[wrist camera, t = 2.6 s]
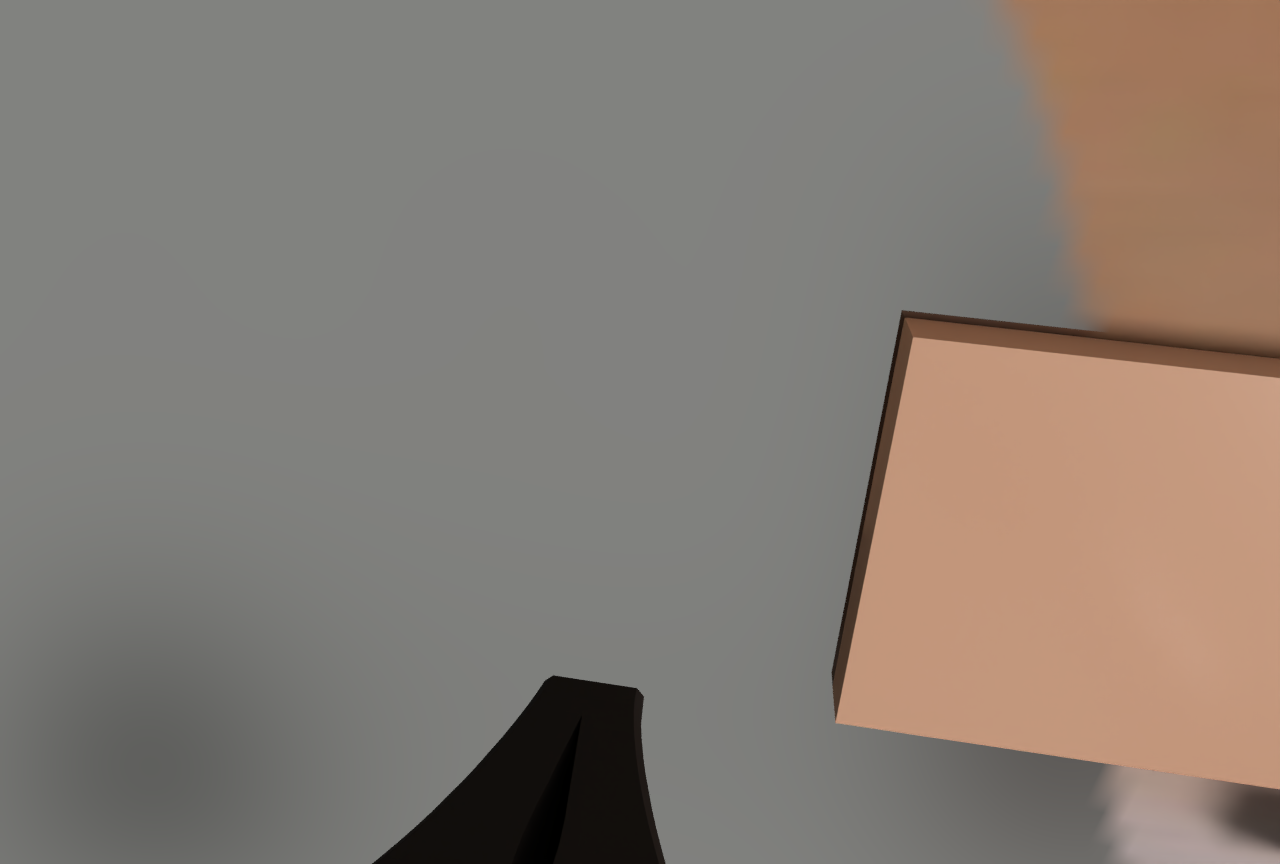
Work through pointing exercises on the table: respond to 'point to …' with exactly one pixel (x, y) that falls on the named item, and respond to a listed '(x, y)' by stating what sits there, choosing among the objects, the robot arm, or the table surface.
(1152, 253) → the table surface
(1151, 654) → the tile
